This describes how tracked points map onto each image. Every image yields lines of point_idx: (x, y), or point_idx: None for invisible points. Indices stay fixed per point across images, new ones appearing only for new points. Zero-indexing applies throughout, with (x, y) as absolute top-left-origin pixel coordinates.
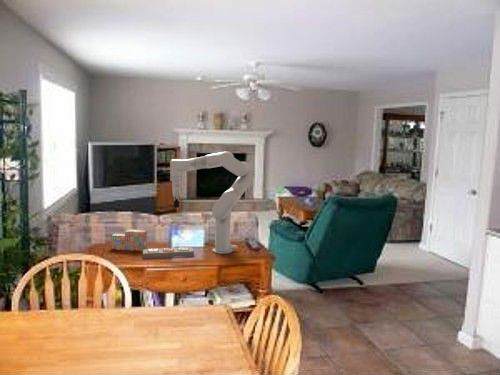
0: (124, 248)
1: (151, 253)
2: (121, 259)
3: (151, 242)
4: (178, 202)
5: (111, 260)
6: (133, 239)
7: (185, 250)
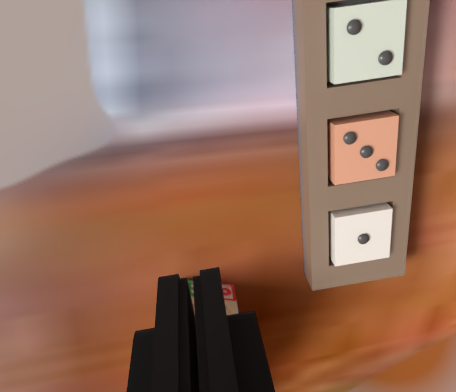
0: None
1: (407, 234)
2: (384, 338)
3: (15, 279)
4: (235, 370)
5: (390, 367)
6: None
7: (401, 21)
